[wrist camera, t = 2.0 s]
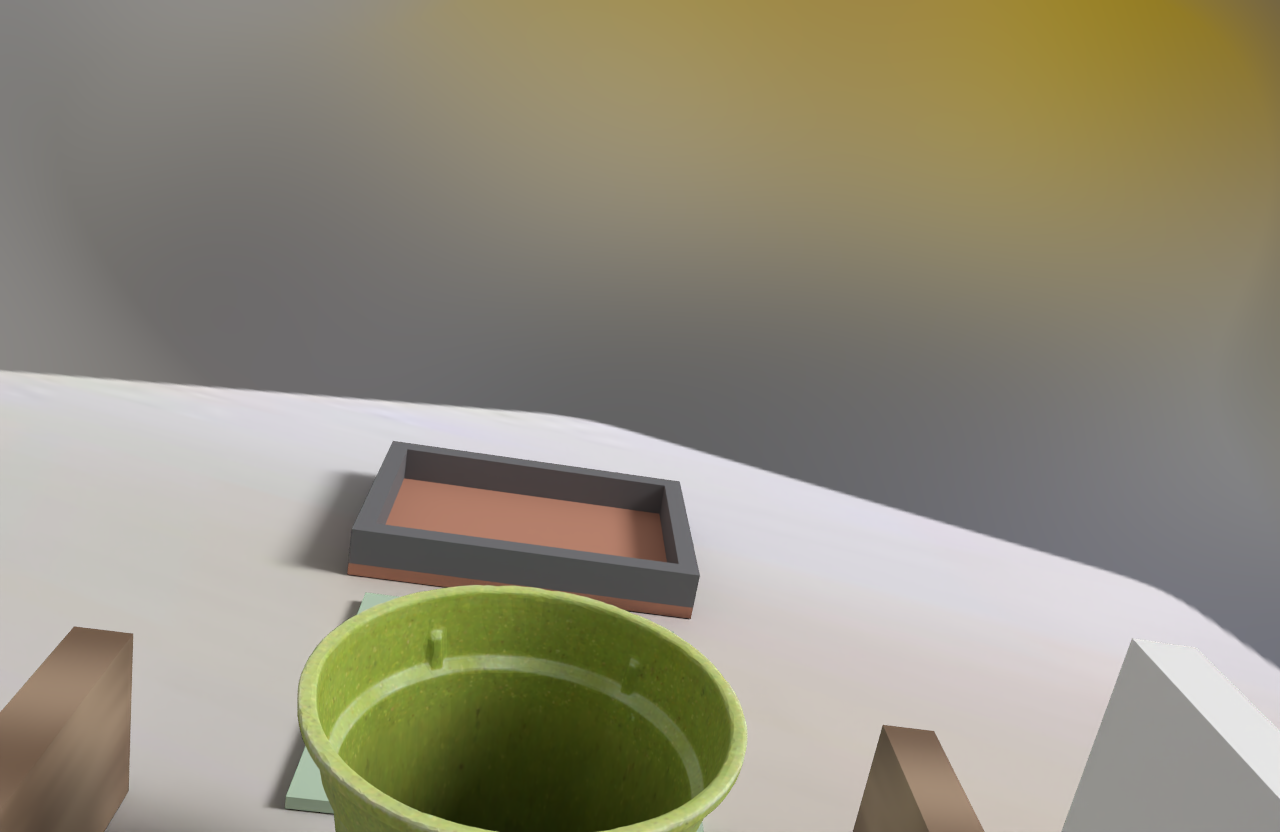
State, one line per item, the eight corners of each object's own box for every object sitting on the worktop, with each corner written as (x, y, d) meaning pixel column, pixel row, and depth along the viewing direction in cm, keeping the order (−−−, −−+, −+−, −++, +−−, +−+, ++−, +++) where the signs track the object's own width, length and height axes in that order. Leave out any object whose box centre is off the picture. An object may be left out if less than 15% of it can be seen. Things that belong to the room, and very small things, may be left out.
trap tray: (690, 618, 46) (699, 575, 45) (347, 574, 44) (351, 528, 44) (672, 518, 55) (679, 481, 54) (389, 479, 54) (393, 441, 53)
